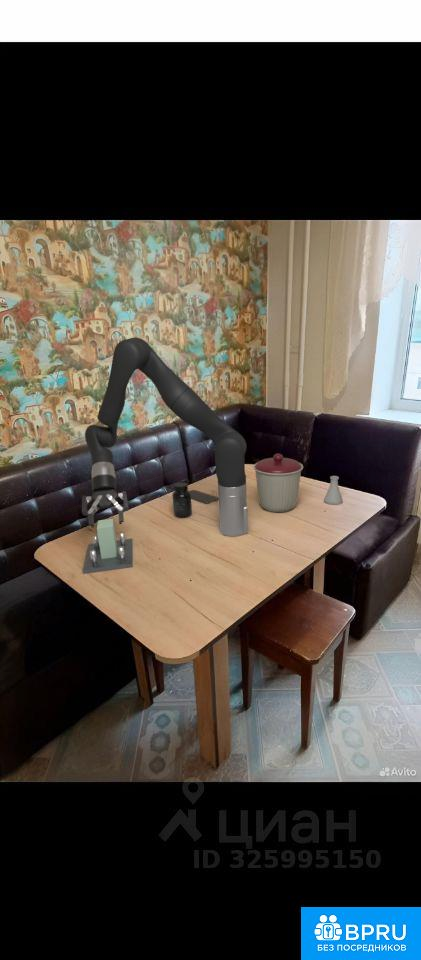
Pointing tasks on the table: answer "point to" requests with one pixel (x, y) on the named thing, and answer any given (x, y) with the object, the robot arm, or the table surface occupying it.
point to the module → (107, 538)
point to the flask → (333, 492)
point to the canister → (278, 482)
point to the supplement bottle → (182, 501)
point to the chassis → (121, 561)
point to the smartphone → (202, 497)
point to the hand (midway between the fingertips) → (106, 525)
